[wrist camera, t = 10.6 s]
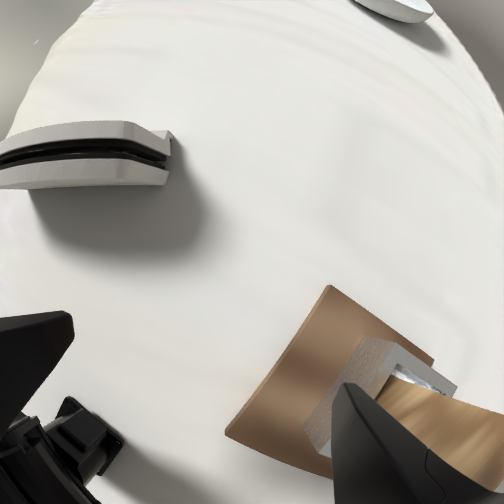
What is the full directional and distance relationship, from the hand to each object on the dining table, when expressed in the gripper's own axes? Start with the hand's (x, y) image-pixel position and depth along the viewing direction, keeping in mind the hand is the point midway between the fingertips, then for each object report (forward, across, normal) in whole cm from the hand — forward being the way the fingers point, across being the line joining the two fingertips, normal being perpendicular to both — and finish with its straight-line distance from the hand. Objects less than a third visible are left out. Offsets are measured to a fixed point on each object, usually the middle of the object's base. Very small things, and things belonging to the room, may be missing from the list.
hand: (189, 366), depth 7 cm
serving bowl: (+37, -15, -49) cm, 63 cm away
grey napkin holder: (+14, +16, -5) cm, 22 cm away
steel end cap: (+10, -12, +9) cm, 18 cm away
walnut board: (+10, -10, +9) cm, 17 cm away
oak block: (+9, -12, +9) cm, 17 cm away
